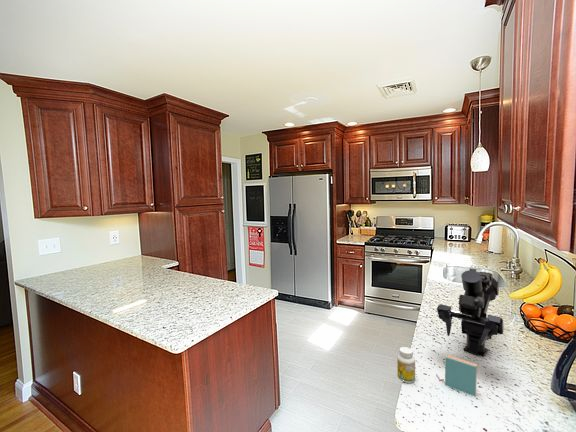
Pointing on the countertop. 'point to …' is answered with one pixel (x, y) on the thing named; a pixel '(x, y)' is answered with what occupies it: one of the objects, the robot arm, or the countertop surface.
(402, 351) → the supplement bottle
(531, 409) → the countertop surface
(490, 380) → the countertop surface
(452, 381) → the tile
